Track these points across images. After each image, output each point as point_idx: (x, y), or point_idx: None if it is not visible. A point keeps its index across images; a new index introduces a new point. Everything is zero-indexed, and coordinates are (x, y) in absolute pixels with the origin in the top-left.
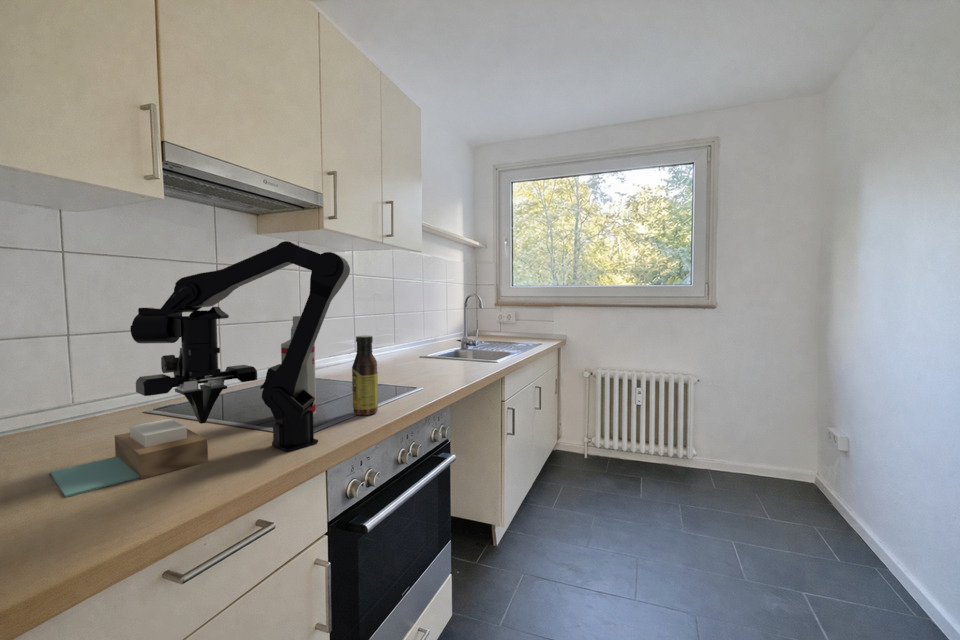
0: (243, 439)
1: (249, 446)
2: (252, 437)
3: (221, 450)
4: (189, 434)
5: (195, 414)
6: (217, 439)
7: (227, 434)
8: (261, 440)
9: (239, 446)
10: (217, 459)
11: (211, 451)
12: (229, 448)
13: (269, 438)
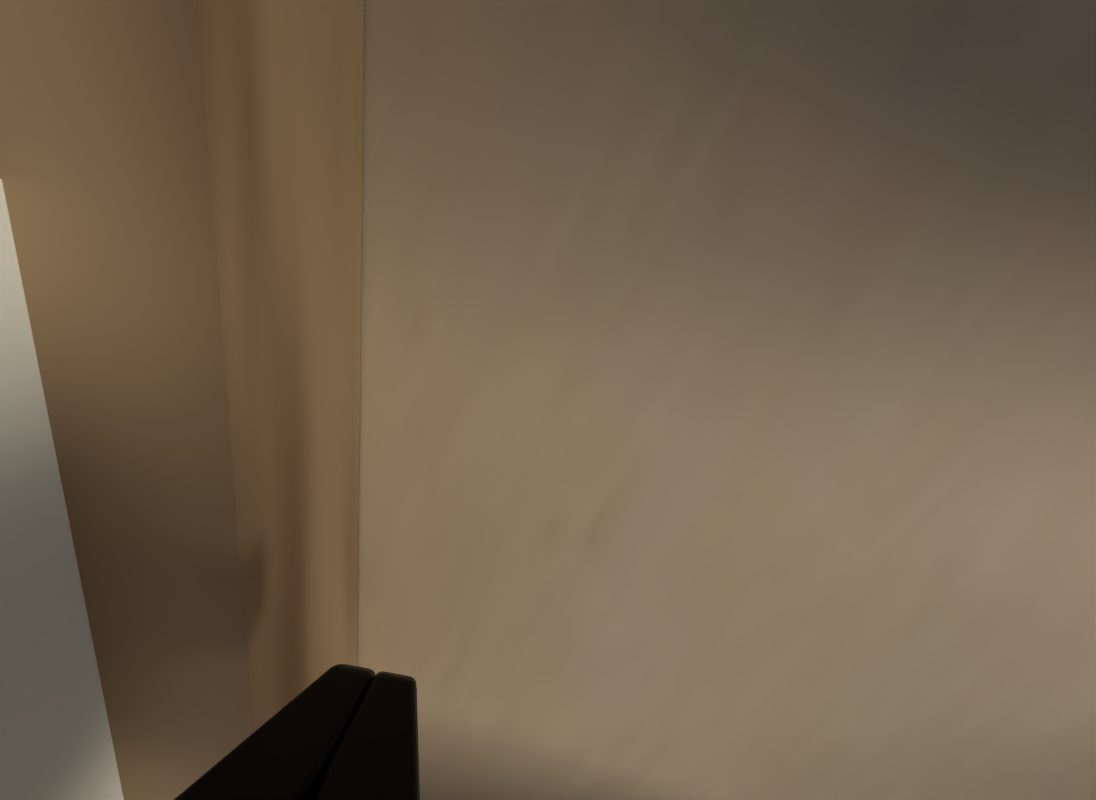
0: (930, 552)
1: (771, 769)
2: (1039, 579)
3: (560, 649)
4: (181, 725)
5: (200, 795)
6: (791, 250)
7: (1053, 130)
8: (974, 736)
9: (726, 697)
10: (422, 787)
11: (489, 595)
12: (637, 665)
13: (1067, 756)
